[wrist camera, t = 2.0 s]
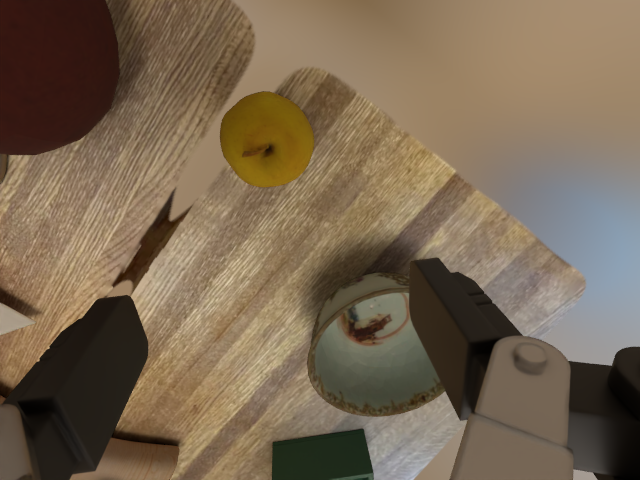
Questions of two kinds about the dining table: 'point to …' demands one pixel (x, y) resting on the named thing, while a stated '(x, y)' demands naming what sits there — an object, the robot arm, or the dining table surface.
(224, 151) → the apple
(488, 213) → the dining table surface
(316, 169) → the dining table surface
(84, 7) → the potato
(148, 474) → the axe
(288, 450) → the bin
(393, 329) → the bowl
